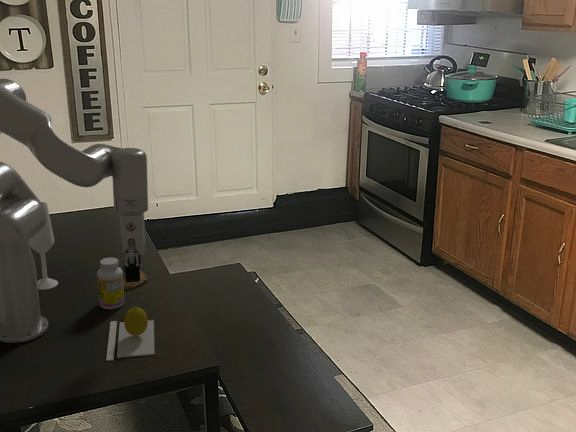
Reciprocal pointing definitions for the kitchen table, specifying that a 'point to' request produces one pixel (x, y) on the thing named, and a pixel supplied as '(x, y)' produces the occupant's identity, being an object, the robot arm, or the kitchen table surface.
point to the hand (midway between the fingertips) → (133, 272)
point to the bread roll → (133, 284)
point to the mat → (136, 342)
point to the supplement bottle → (110, 284)
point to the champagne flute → (44, 250)
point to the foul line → (111, 341)
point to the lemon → (135, 321)
